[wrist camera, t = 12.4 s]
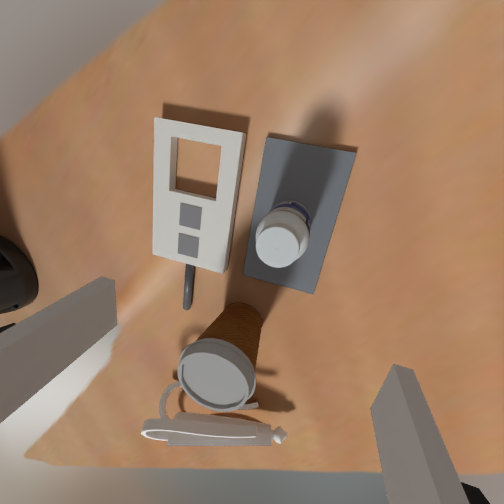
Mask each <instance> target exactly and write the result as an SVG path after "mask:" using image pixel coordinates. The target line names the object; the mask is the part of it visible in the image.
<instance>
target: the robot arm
mask: <svg viewBox="0 0 504 504" xmlns="http://www.w3.org/2000/svg"><path fill="white" fill-rule="evenodd" d="M37 292H38V284H37V279H36V276H35V273H34V270H33V268H32V266H31V265H30V263H29V261H28V260H27V258H26V257H25V256H24V254H23V253H22V252H21V251H20V250H19V249H18V248H17V247H16V246H15V245H14V244H12V243H11V242H10V241H8V240H7V239H5V238H3V237H1V236H0V314H2V313H7V312H11V311H15V310H18V309H20V308H22V307H24V306H26V305H28V304H30V303H32V302H33V301H34V300H35V298H36V296H37ZM116 325H117V310H116V292H115V280H112V279H109V278H106V277H102V276H101V277H99V278H98V279H96V280H94V281H92V282H90V283H89V284H87V285H85V286H83V287H82V288H80V289H78V290H76V291H74V292H73V293H71V294H69V295H67V296H66V297H64V298H62V299H60V300H58V301H57V302H55V303H53V304H51V305H50V306H48V307H46V308H44V309H42V310H41V311H39V312H37V313H35V314H33V315H32V316H30V317H28V318H26V319H25V320H23V321H21V322H19V323H17V324H15V323H12V324H9V325H6V326H3V327H1V328H0V423H1V422H2V421H4V420H5V419H6V418H7V417H8V416H9V415H10V414H12V413H13V412H14V411H15V410H17V409H18V408H19V407H20V406H21V405H23V404H24V403H25V402H26V401H27V400H28V399H30V398H31V397H32V396H33V395H34V394H36V393H37V392H38V391H39V390H40V389H42V388H43V387H44V386H45V385H46V384H47V383H49V382H50V381H51V380H52V379H53V378H55V377H56V376H57V375H58V374H59V373H61V372H62V371H63V370H64V369H65V368H66V367H68V366H69V365H70V364H71V363H72V362H74V361H75V360H76V359H77V358H78V357H80V356H81V355H82V354H83V353H84V352H85V351H87V350H88V349H89V348H90V347H91V346H92V345H94V344H95V343H96V342H97V341H98V340H100V339H101V338H102V337H103V336H104V335H106V334H107V333H108V332H109V331H110V330H112V329H113V328H114V327H115V326H116ZM370 410H371V415H372V420H373V425H374V431H375V436H376V441H377V447H378V452H379V457H380V462H381V468H382V473H383V478H384V483H385V488H386V494H387V499H388V504H490V503H489V502H488V500H487V499H486V498H485V496H484V495H483V494H482V492H481V491H480V489H479V488H476V487H473V486H470V485H468V484H465V483H462V482H460V480H459V477H458V475H457V473H456V470H455V468H454V465H453V463H452V461H451V458H450V456H449V454H448V451H447V449H446V446H445V444H444V442H443V439H442V437H441V435H440V432H439V430H438V427H437V425H436V423H435V420H434V418H433V416H432V413H431V411H430V408H429V406H428V404H427V401H426V399H425V397H424V394H423V392H422V389H421V387H420V385H419V382H418V380H417V378H416V375H415V373H414V370H412V369H409V368H406V367H402V366H399V365H396V364H393V365H392V367H391V369H390V371H389V373H388V375H387V377H386V379H385V381H384V383H383V385H382V387H381V389H380V391H379V393H378V395H377V397H376V399H375V401H374V403H373V404H372V406H371V408H370Z"/></svg>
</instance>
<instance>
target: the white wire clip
mask: <svg viewBox="0 0 504 504" xmlns="http://www.w3.org/2000/svg"><path fill="white" fill-rule="evenodd" d="M180 386H181V384H180V382H175V383H172V384H171V385H169V386H168V387H167V388H166V389H165V391H164V393H163V395H162V397H161V400H160V405H159V412H160V416H161V419H160V418H157V419H148V420H146V421H145V422H144V424H143V428H142V431H141V434H142V435H143V436H145V437H147V438H150V439H155V440H163V441H168V443H167V446H271V445H272V440H273V439H275V441H276V442H278V443H279V444H281V443H282V441H283V440H284V439H285V438H286V437H287V432H285V431H284V430H283V429H282V428H281V426H278V427H277V428H275V430H272V429H271V425H270V424H265V423H260V422H255V421H250V420H244V419H238V418H231V417H224V416H217V415H209V414H200V413H190V412H178V413H177V414H176V415H175V417H174V419H170V418H169V417H168V415H167V413H166V402H167V399H168V396H169V394H170V393H171V391H172V390H173V389H175V388H177V387H180ZM257 407H259V405H258V402H255V403H251V404H244V405H243V406H241V407H240V408H238V409H236V410H247V409H253V408H257Z"/></svg>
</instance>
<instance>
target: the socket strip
mask: <svg viewBox="0 0 504 504" xmlns="http://www.w3.org/2000/svg"><path fill="white" fill-rule="evenodd" d="M178 138H182V139H188V140H193V141H198V142H204V143H209V144H214V145H220V146H222V149H221V158H220V168H219V177H218V186H217V195H216V198H213V197H208V196H204V195H199V194H195V193H191V192H186V191H182V190H177V189H175V186H176V164H177V142H178ZM245 141H246V133H242V132H236V131H230V130H225V129H219V128H213V127H208V126H202V125H196V124H191V123H185V122H179V121H174V120H168V119H162V118H157V117H154V184H153V255H157V256H161V257H164V258H168V259H171V260H175V261H179V262H182V263H186V270H185V284H184V299H183V308H184V309H185V310H189V309H190V308H191V298H192V286H193V274H194V266H197V267H200V268H204V269H208V270H211V271H215V272H219V273H222V274H224V272H225V271H226V270H227V267H228V260H229V253H230V246H231V239H232V232H233V225H234V218H235V211H236V204H237V197H238V190H239V183H240V176H241V169H242V162H243V155H244V148H245Z"/></svg>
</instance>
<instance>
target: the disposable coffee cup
mask: <svg viewBox="0 0 504 504" xmlns="http://www.w3.org/2000/svg"><path fill="white" fill-rule="evenodd" d="M261 327H262V320H261V317H260V315H259V313H258V312H257V311H256V310H255V309H254V308H253V307H251V306H249V305H247V304H244V303H233V304H231V305H229V306H228V307H226V309H225V310H224V311H223V312H222V313H221V314H220V315H219V316H218V317H217V318H216V320H215V321H214V322H213V323H212V324H211V325H210V326H209V327H208V328H207V329H206V330H205V332H204V333H203V334H202V335H201V336H200V337H199V338H198V339H197V340H196V341H195V342H193V343H192V344H190V345H188V346H187V347H186V348H185V349H184V350H183V352H182V353H181V356H180V359H179V366H178V379H179V382H180V384H181V386H182V388H183V390H184V391H185V392H186V393H187V394H188V396H189V397H190V398H192V399H193V400H194V401H195V402H197V403H198V404H200V405H202V406H204V407H206V408H208V409H211V410H215V411H222V412H228V411H233V410H236V409H238V408H240V407H241V406H243V405H244V404H245V402H246V401H247V400H248V399H249V398H250V397H251V396H252V395H253V393H254V391H255V387H256V377H255V367H256V360H257V353H258V347H259V340H260V334H261Z"/></svg>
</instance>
